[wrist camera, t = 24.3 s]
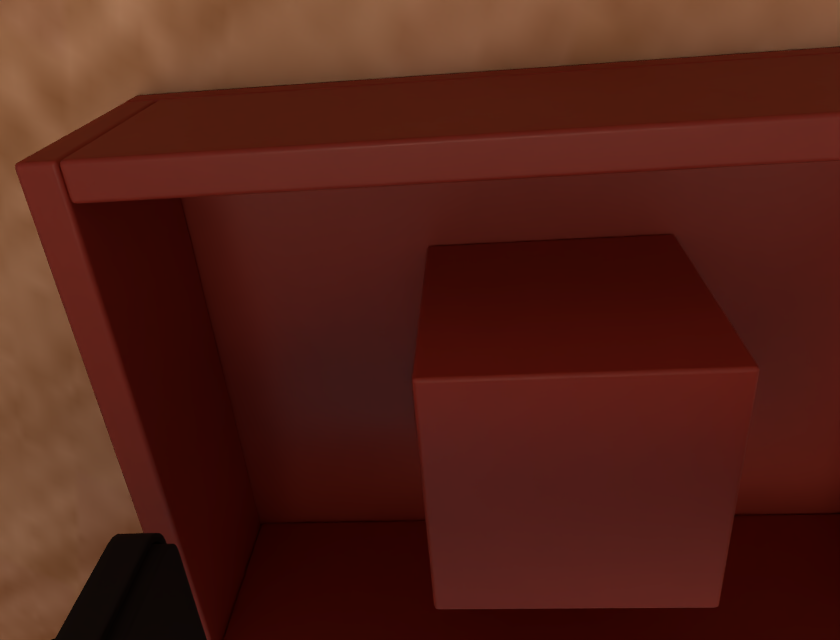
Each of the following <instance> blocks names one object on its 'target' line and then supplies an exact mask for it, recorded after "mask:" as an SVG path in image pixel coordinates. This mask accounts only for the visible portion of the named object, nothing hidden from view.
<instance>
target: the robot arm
mask: <svg viewBox="0 0 840 640" xmlns="http://www.w3.org/2000/svg"><path fill="white" fill-rule="evenodd" d="M52 640H207V639H206V635H205V632H204V629H203V626H202V623H201V620H200V616H199V613H198V610H197V607H196V604H195V601H194V598H193V594H192V591H191V588H190V585H189V582H188V579H187V575H186V572H185V569H184V566H183V563H182V560H181V556H180V553H179V550H178V548H177V546H176V545H175V544H174V543H173V544H167V543H166V540H165V538H164V536H163V535H162V534H160V533H136V534H117V535H115V536H114V537H112V539H111V540H110V542H109V543H108V545H107V546H106V548H105V550H104V552H103V554H102V555H101V557H100V559H99V561H98V563H97V564H96V566H95V568H94V570H93V572H92V573H91V575H90V577H89V579H88V581H87V582H86V584H85V586H84V588H83V590H82V591H81V593H80V595H79V597H78V599H77V600H76V602H75V604H74V606H73V608H72V609H71V611H70V613H69V615H68V617H67V618H66V620H65V622H64V624H63V626H62V627H61V629H60V631H59V633H58V635H57V636H56V638H55V639H52Z"/></svg>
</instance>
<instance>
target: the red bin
mask: <svg viewBox="0 0 840 640" xmlns="http://www.w3.org/2000/svg"><path fill="white" fill-rule="evenodd" d="M15 169H16V172H17V175H18V178H19V181H20V184H21V186H22V189H23V192H24V195H25V198H26V201H27V203H28V206H29V209H30V212H31V215H32V218H33V220H34V223H35V226H36V229H37V232H38V235H39V237H40V240H41V243H42V246H43V249H44V252H45V255H46V257H47V260H48V263H49V266H50V269H51V272H52V274H53V277H54V280H55V283H56V286H57V289H58V291H59V294H60V297H61V300H62V303H63V306H64V308H65V311H66V314H67V317H68V320H69V323H70V325H71V328H72V331H73V334H74V337H75V340H76V342H77V345H78V348H79V351H80V354H81V357H82V359H83V362H84V365H85V368H86V371H87V374H88V376H89V379H90V382H91V385H92V388H93V391H94V394H95V396H96V399H97V402H98V405H99V408H100V411H101V413H102V416H103V419H104V422H105V425H106V428H107V430H108V433H109V436H110V439H111V442H112V445H113V447H114V450H115V453H116V456H117V459H118V462H119V464H120V467H121V470H122V473H123V476H124V479H125V481H126V484H127V487H128V490H129V493H130V496H131V498H132V501H133V504H134V507H135V510H136V513H137V515H138V518H139V521H140V524H141V527H142V530H143V533H160V534H162V535H163V536H164V538H165V540H166V543H167V544H173V543H174V544H175V545H176V546H177V548H178V550H179V553H180V556H181V560H182V563H183V566H184V569H185V572H186V575H187V579H188V582H189V585H190V588H191V591H192V594H193V598H194V601H195V604H196V607H197V610H198V613H199V616H200V620H201V623H202V626H203V629H204V632H205V635H206V639H207V640H840V47H831V48H816V49H802V50H787V51H773V52H759V53H744V54H730V55H715V56H701V57H686V58H672V59H658V60H643V61H629V62H614V63H600V64H586V65H571V66H557V67H542V68H528V69H513V70H499V71H485V72H470V73H456V74H441V75H427V76H413V77H398V78H384V79H369V80H355V81H340V82H326V83H312V84H297V85H283V86H268V87H254V88H240V89H225V90H211V91H196V92H182V93H167V94H153V95H139V96H135V97H134V98H132V99H130V100H128V101H126V102H125V103H123V104H122V105H120V106H118V107H116V108H115V109H113V110H111V111H109V112H107V113H106V114H104V115H102V116H100V117H98V118H97V119H95V120H93V121H91V122H90V123H88V124H86V125H84V126H82V127H81V128H79V129H77V130H75V131H73V132H72V133H70V134H68V135H66V136H65V137H63V138H61V139H59V140H57V141H56V142H54V143H52V144H50V145H48V146H47V147H45V148H43V149H41V150H40V151H38V152H36V153H34V154H32V155H31V156H29V157H27V158H25V159H23V160H22V161H20V162H18V163H16V165H15ZM652 235H675V237H676V238H677V240H678V242H679V243H680V245H681V246H682V248H683V249H684V251H685V253H686V254H687V256H688V257H689V259H690V260H691V262H692V263H693V265H694V267H695V268H696V270H697V271H698V273H699V274H700V276H701V278H702V279H703V281H704V282H705V284H706V285H707V287H708V288H709V290H710V292H711V293H712V295H713V296H714V298H715V299H716V301H717V302H718V304H719V306H720V307H721V309H722V310H723V312H724V313H725V315H726V317H727V318H728V320H729V321H730V323H731V324H732V326H733V327H734V329H735V331H736V332H737V334H738V335H739V337H740V338H741V340H742V342H743V343H744V345H745V346H746V348H747V349H748V351H749V352H750V354H751V356H752V357H753V359H754V360H755V362H756V363H757V365H758V367H759V376H758V382H757V388H756V393H755V399H754V405H753V411H752V417H751V422H750V428H749V434H748V440H747V445H746V451H745V457H744V463H743V469H742V474H741V480H740V486H739V492H738V497H737V503H736V509H735V515H734V521H733V526H732V532H731V538H730V544H729V549H728V555H727V561H726V567H725V573H724V578H723V584H722V590H721V596H720V601H719V606H718V607H715V608H570V609H436V608H435V606H434V602H433V592H432V582H431V572H430V562H429V552H428V542H427V531H426V521H425V511H424V501H423V491H422V481H421V471H420V461H419V451H418V441H417V431H416V421H415V411H414V401H413V391H412V373H413V365H414V356H415V348H416V339H417V331H418V322H419V314H420V305H421V297H422V289H423V280H424V272H425V263H426V255H427V249H428V247H430V246H450V245H470V244H490V243H510V242H531V241H551V240H571V239H591V238H612V237H632V236H652Z"/></svg>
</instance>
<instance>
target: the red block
mask: <svg viewBox="0 0 840 640" xmlns="http://www.w3.org/2000/svg"><path fill="white" fill-rule="evenodd" d="M758 376H759V367H758V365H757V363H756V362H755V360H754V359H753V357H752V356H751V354H750V352H749V351H748V349H747V348H746V346H745V345H744V343H743V342H742V340H741V338H740V337H739V335H738V334H737V332H736V331H735V329H734V327H733V326H732V324H731V323H730V321H729V320H728V318H727V317H726V315H725V313H724V312H723V310H722V309H721V307H720V306H719V304H718V302H717V301H716V299H715V298H714V296H713V295H712V293H711V292H710V290H709V288H708V287H707V285H706V284H705V282H704V281H703V279H702V278H701V276H700V274H699V273H698V271H697V270H696V268H695V267H694V265H693V263H692V262H691V260H690V259H689V257H688V256H687V254H686V253H685V251H684V249H683V248H682V246H681V245H680V243H679V242H678V240H677V238H676V237H675V235H652V236H632V237H612V238H591V239H571V240H551V241H531V242H510V243H490V244H470V245H450V246H430V247H428V249H427V255H426V263H425V272H424V280H423V289H422V297H421V305H420V314H419V322H418V331H417V339H416V348H415V356H414V365H413V373H412V391H413V401H414V411H415V421H416V431H417V441H418V451H419V461H420V471H421V481H422V491H423V501H424V511H425V521H426V531H427V542H428V552H429V562H430V572H431V582H432V592H433V602H434V606H435V608H436V609H570V608H715V607H718V606H719V601H720V596H721V590H722V584H723V578H724V573H725V567H726V561H727V555H728V549H729V544H730V538H731V532H732V526H733V521H734V515H735V509H736V503H737V497H738V492H739V486H740V480H741V474H742V469H743V463H744V457H745V451H746V445H747V440H748V434H749V428H750V422H751V417H752V411H753V405H754V399H755V393H756V388H757V382H758Z"/></svg>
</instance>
